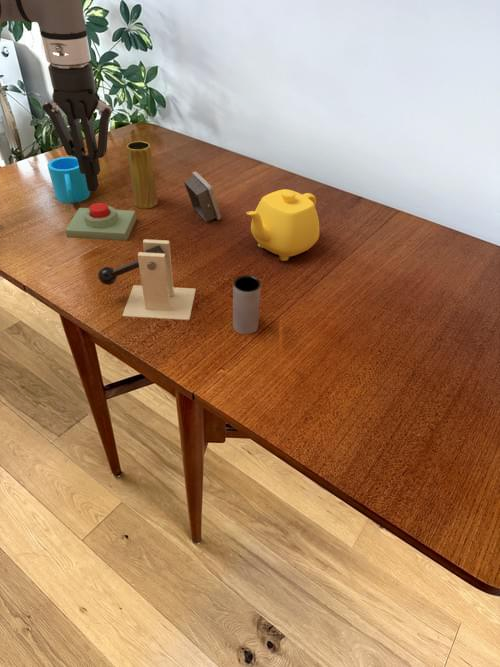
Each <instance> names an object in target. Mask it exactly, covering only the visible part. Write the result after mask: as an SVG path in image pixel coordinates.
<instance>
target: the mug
mask: <svg viewBox="0 0 500 667" xmlns="http://www.w3.org/2000/svg"><path fill="white" fill-rule="evenodd" d="M47 170H48V173H49V178H50V181H51V184H52V188H53V192H54V195H55V198H56V200H57V201H58V202H60V203H64V204H76V203H80V202H83V201H86V200H87V199H88V198H90V195H91V191H88V187H87V182H86V178H85V174H81V172H80V169H79V164H78V160H77V158H76V157H74V156H62V157H57V158H54V159H52V160H50V161H49V162H48V163H47Z"/></svg>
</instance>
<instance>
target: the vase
mask: <svg viewBox="0 0 500 667" xmlns="http://www.w3.org/2000/svg"><path fill="white" fill-rule="evenodd" d="M126 153H127V159H128V167H129V174H130V180H131V188H132V191H131V192H132V205H133V206H134V207H135V208H137V209H142V210H148V209H152V208H154V207H156V206H157V205H158V204H159V199H158V195H157V189H156V183H155V174H154V166H153V159H152V150H151V144H150V143H149V142H147V141H143V140H134V141H131V142H129V143H127V144H126Z"/></svg>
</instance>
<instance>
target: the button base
mask: <svg viewBox="0 0 500 667" xmlns="http://www.w3.org/2000/svg"><path fill="white" fill-rule="evenodd" d="M108 208H109V215H108V216H106V217H103V218H93V217H91V214H90V209H89V207H79V208H78V209H77V211H76V212H75V214H74V216H73V217H72V219H71V221H69V223H68V225H67V226H66V228H65V230H64V231H65V235H66V238H68V239H86V240H106V241H120V242H121V241H122V242H128V240H129V238H130V235H131V232H132V230H133V228H134V225H135V224H136V221H137V214H136V210H126V209H115V208H114V207H112V206H110V205H108Z"/></svg>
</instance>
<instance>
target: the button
mask: <svg viewBox="0 0 500 667" xmlns="http://www.w3.org/2000/svg"><path fill="white" fill-rule="evenodd" d="M108 206H109V205H108V204H106V203H104V202H96V203H93V204H91V205H90V206H88V208H89V209H90V214H91V217H93V218H103V217H106V216H108V215H109V208H108Z"/></svg>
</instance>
